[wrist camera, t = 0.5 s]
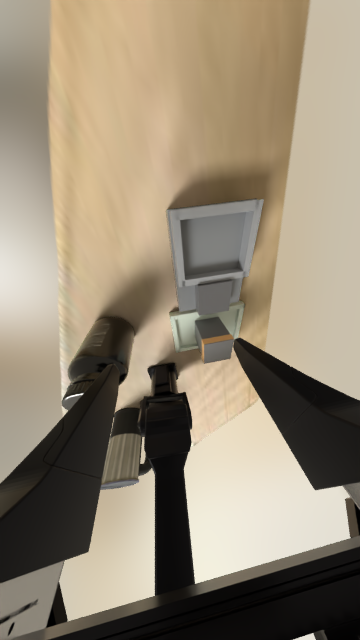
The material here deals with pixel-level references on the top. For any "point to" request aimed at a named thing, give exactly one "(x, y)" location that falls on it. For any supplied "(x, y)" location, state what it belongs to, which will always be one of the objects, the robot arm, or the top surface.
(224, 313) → the tray
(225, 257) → the grey storage bin
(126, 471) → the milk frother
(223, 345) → the plug
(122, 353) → the supplement bottle
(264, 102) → the top surface
